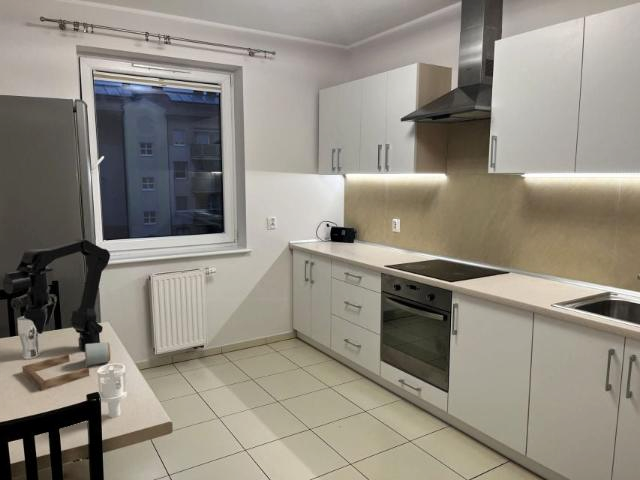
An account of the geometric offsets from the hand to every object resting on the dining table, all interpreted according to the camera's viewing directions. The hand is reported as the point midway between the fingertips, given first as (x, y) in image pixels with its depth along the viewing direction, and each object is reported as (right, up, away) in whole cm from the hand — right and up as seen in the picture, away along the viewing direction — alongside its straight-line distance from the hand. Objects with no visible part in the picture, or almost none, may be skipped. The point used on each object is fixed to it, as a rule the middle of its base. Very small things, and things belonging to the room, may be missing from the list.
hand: (43, 329), depth 165 cm
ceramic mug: (+17, -13, +5) cm, 22 cm away
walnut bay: (+8, -14, -5) cm, 17 cm away
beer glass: (-10, -12, +10) cm, 19 cm away
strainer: (+39, -18, -32) cm, 54 cm away
